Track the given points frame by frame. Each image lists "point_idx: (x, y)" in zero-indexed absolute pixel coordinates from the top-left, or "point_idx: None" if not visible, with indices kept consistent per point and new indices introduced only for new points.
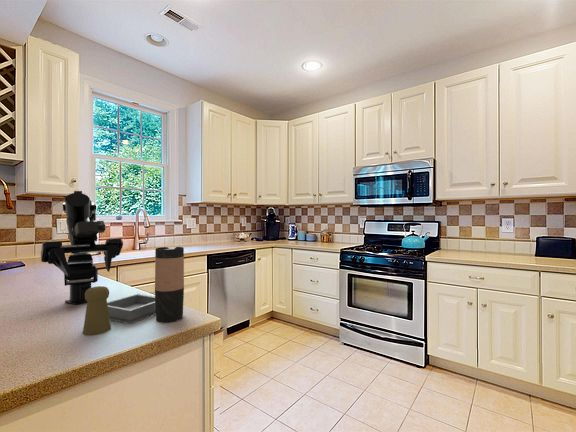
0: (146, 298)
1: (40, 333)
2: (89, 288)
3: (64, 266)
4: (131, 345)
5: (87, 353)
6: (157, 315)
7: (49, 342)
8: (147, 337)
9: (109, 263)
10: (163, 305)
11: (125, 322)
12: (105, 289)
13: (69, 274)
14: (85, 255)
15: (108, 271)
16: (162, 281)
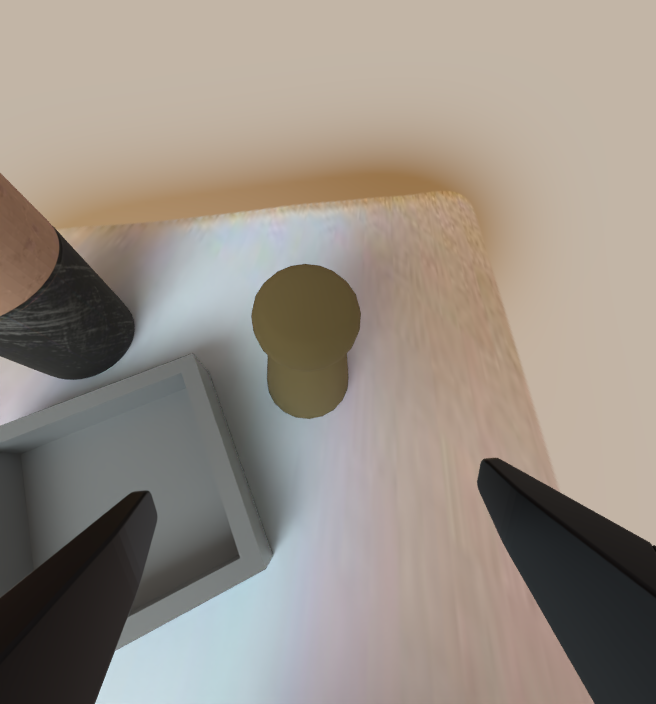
0: (4, 579)
1: (465, 478)
2: (341, 316)
3: (585, 510)
4: (263, 223)
5: (350, 242)
6: (123, 316)
7: (429, 367)
8: (216, 241)
9: (81, 543)
10: (91, 268)
11: (214, 390)
12: (274, 274)
13: (482, 461)
14: None
15: (151, 513)
16: (10, 183)
